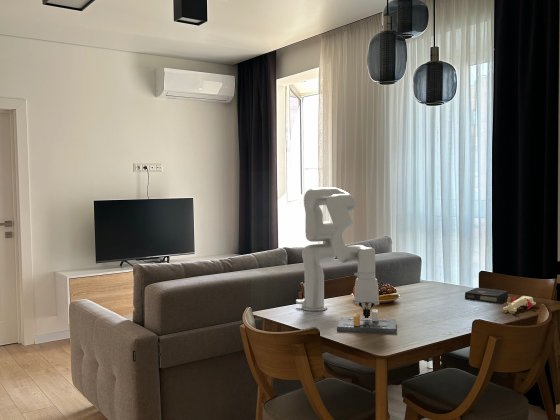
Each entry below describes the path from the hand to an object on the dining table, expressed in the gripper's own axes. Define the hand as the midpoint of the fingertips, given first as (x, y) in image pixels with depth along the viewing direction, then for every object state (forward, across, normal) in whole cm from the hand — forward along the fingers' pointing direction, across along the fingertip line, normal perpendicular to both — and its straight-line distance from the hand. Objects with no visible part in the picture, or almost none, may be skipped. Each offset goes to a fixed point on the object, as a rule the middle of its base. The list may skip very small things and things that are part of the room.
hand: (366, 317), depth 243 cm
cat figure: (+4, +70, +41) cm, 82 cm away
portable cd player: (+4, +59, +64) cm, 87 cm away
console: (+3, 0, -4) cm, 5 cm away
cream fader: (+1, +4, 0) cm, 4 cm away
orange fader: (+1, -4, -9) cm, 10 cm away
